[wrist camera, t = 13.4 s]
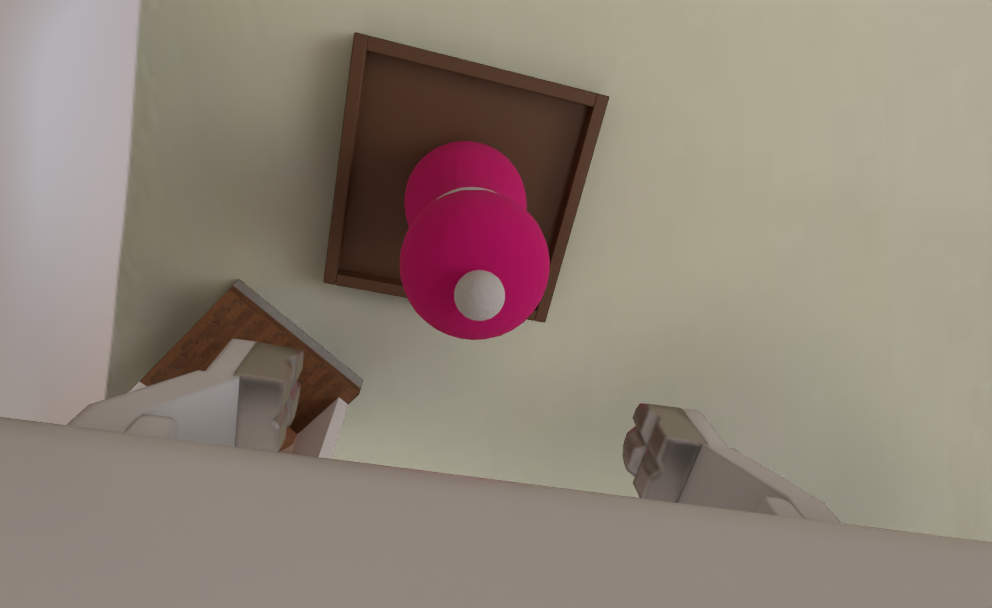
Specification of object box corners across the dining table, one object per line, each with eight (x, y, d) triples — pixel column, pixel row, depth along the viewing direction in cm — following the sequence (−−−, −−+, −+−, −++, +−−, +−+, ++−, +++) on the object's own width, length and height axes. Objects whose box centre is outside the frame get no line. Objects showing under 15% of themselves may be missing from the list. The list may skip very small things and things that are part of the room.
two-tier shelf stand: (362, 380, 42) (94, 1355, 10) (272, 462, 44) (-189, 1482, 12) (239, 279, 39) (-825, 1325, 6) (146, 374, 41) (-1001, 1517, 8)
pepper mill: (401, 232, 38) (358, 383, 19) (417, 123, 35) (386, 176, 17) (505, 251, 39) (558, 410, 20) (528, 146, 36) (613, 220, 18)
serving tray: (602, 95, 36) (609, 96, 34) (541, 313, 41) (545, 322, 40) (358, 34, 33) (354, 31, 32) (328, 274, 39) (323, 282, 37)
